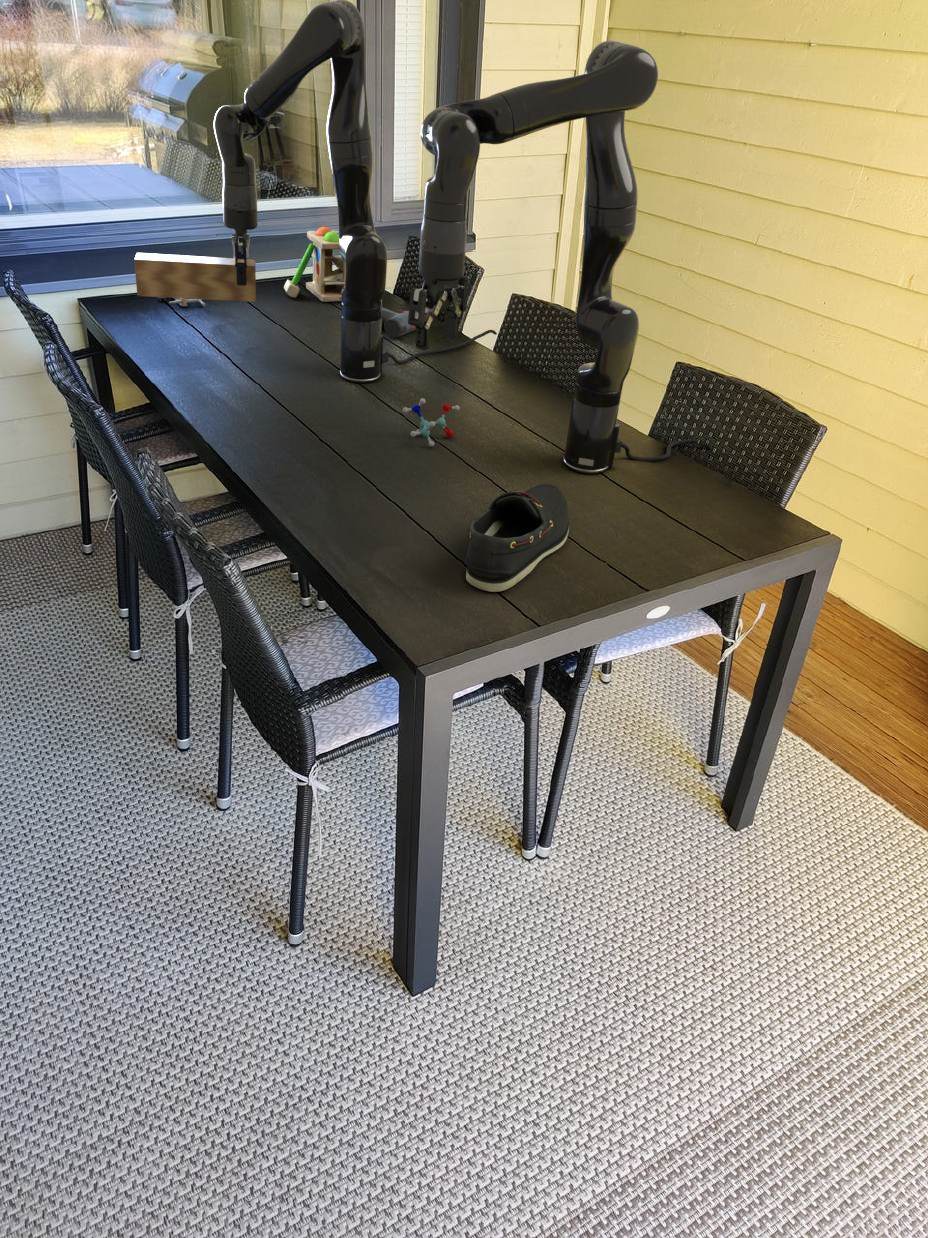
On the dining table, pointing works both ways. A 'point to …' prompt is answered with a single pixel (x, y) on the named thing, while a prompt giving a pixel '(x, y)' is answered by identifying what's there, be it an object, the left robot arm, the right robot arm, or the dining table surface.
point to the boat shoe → (515, 536)
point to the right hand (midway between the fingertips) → (436, 343)
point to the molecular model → (427, 425)
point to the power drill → (397, 322)
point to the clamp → (185, 301)
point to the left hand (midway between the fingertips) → (241, 280)
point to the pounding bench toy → (321, 267)
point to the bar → (193, 277)
